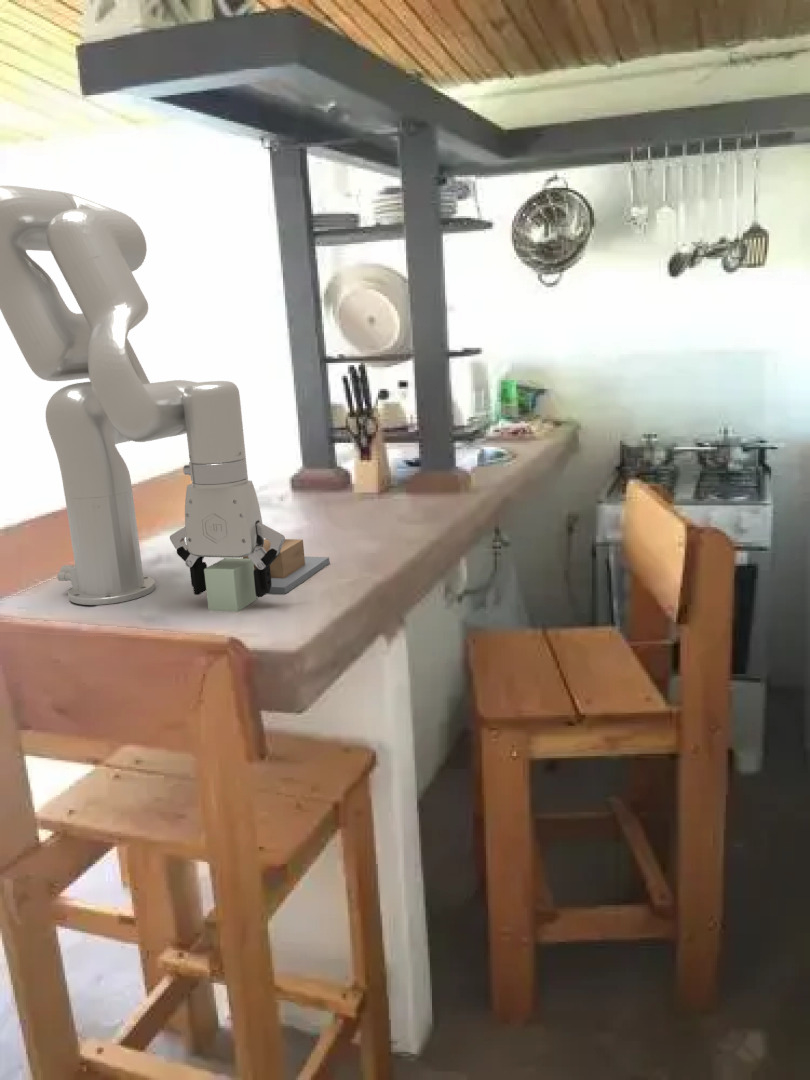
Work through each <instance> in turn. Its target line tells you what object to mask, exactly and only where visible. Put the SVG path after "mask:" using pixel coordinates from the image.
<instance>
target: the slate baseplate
mask: <svg viewBox="0 0 810 1080" xmlns="http://www.w3.org/2000/svg"><path fill="white" fill-rule="evenodd" d="M304 557H305V565H303V566H302V567H300V568H299V569H297V570H296V571H294V572H293V573H291V574H290V575H288V576H286V577H285V578H271V584H272V585H271V588H270V592H269V593H268V594H271V595H275V594H276V595H286V594H288V593H289V592H291V591H292V590H293V589H295V588H296V587H298V586H299V585H301V584H302V583H303V582H305V581H306V580H308V579H309V578H310V577H312V576H313V575H315V574H316V573H318V572H319V571H321V570H322V569H323V568H325V567H327V566H328V565H329V564H330V557H329V556H304Z"/></svg>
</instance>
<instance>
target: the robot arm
mask: <svg viewBox="0 0 810 1080" xmlns="http://www.w3.org/2000/svg"><path fill="white" fill-rule="evenodd" d="M146 241H147V240H146V237H145V234H144V232H143V230H142V229H141V227H140V226H139V224H138V223H137V222H136V221H135V220H134V219H133V218H132V217H131V216H129V215H128V214H127V213H125V212H124V213H123V212H122V211H119V210H116V209H112V208H111V207H107V206H105V205H102V204H100V203H97V202H94V201H92V200H90V199H89V200H88V199H86V198H84V197H81V196H78V195H76V194H72V193H69V192H63V191H57V190H49V189H41V188H34V187H33V188H32V187H25V186H17V185H0V312H1V314H2V316H3V318H4V320H5V323H6V324H7V326H8V328H9V330H10V332H11V334H12V337H13V338H14V340H15V342H16V344H17V345H18V349H19V350H20V352H21V354H22V356H23V358H24V359H25V361H26V363H27V364H28V367H29V368H30V370H31V371H32V373H34V375H36V376H37V377H38V378H39V379H41V380H44V381H48V382H64V381H65V382H67V381H73V380H74V381H75V380H82V379H83V380H84V379H89V381H86V382H76V383H72V384H68V385H66V386H63V387H62V388H60V389H58V390H57V391H55V392H54V393H53V394H52V395H51V397H50V398H49V399H48V402H47V404H46V407H45V422H46V427H47V430H48V433H49V437H50V439H51V442H52V445H53V448H54V450H55V451H54V452H55V453H56V457H57V461H58V464H59V469H60V474H61V475H60V476H61V481H62V487H63V493H64V494H63V495H64V499H65V504H66V513H67V518H68V526H69V533H70V539H71V548H72V554H73V560H74V564H73V565H70V564H69V565H68V564H64V565H62V566H61V567H60V569H59V570H60V571H59V572H58V573H57V576H56V577H57V580H58V581H61V582H62V581H63V582H64V581H67V582H68V581H70V583H71V588H70V589H69V590H68V592H67V595H68V600H69V601H70V602H72V603H74V604H76V605H77V604H78V605H83V606H105V605H112V604H118V603H124V602H130V601H132V600H136V599H139V598H142V597H145V596H147V595H149V594H151V593H152V592H153V591H154V590H155V588H156V583H155V582H156V581H155V580H154V579H153V578H152V577H150V576H148V575H144V572H143V563H142V556H141V548H140V541H139V540H140V539H139V532H138V525H137V516H136V509H135V502H134V501H135V500H134V494H133V493H134V492H133V487H132V486H133V485H132V479H131V475H130V471H129V468H128V465H127V463H126V462H125V460H124V458H123V457H122V455H121V453H120V452H119V450H118V448H117V446H116V445H117V444H122V443H127V442H128V443H129V442H136V443H145V442H151V441H156V440H160V439H164V438H172V437H176V436H180V435H185V434H186V438H187V439H186V440H187V449H188V456H189V457H188V458H189V462H188V463H189V464H184V465H183V468H182V469H183V471H182V472H183V474H184V475H185V476H186V475H187V476H188V475H189V476H190V481H191V483H190V484H188V485H187V484H186V491H185V500H184V501H185V504H184V526H183V527H182V528H180V529H179V530H177V531H175V532H174V533H172V534H171V535H169V541H170V542H171V544H172V545H173V547H174V549H176V554H177V555H178V556H179V557H180V558H181V559H182V560H183V561H184V564H185V566H186V567H187V568H189V573H190V574H189V575H190V582H191V587H193V594H194V595H195V596H197V595H198V596H199V595H201V594H202V593H205V592H207V591H206V582H205V574H204V569H206V568H207V567H208V565H207V562H206V561H203V560H204V559H205V558H243V557H246V556H248V557H249V559H250V560H251V561H252V562H253V563H254V564H255V565H256V567H257V569H255V570H254V582H255V592H256V596H257V598H262V597H264V596H265V595H267V594H269V592H270V588H271V585H272V584H271V573H270V564H272V563H273V561H274V560H275V559H276V557H277V556H278V555H279V554H280V550H281V548H282V545H283V543H284V540H285V539H286V537H285V535H283V534H282V533H280V532H278V531H276V530H275V529H273V528H271V527H269V526H267V525H265V524H263V518H262V512H261V507H260V504H259V499H258V495H257V492H256V489H255V487H254V484H253V481H252V480H249V477H248V475H249V474H248V466H247V458H246V447H245V446H246V445H245V435H244V424H243V415H242V404H241V396H240V390H239V387H238V386H237V385H236V384H235V383H234V382H231V381H229V380H212V381H201V382H197V381H191V380H185V379H183V380H182V379H179V380H176V379H175V380H167V381H157V382H150V380H149V379H148V377H147V374H146V373H145V372H146V371H144V368H143V366H142V364H141V362H140V360H139V359H138V356H137V354H136V352H135V349H134V348H133V346H132V344H131V343H130V341H129V339H128V335H129V332H130V331H131V330H132V329H133V328H135V327H136V326H138V325H139V324H140V323H141V322H143V320H144V319H145V317H146V316H147V315H148V311H149V303H148V300H147V299H146V296H145V295H144V293H143V291H142V289H141V287H140V285H139V283H138V282H137V279H136V278H135V275H134V274H133V272H135V271H137V270H138V269H139V268H140V267H141V266H142V265H143V263H144V262H145V259H146V256H147V250H148V249H147V242H146ZM27 251H44V252H45V251H46V252H50V253H51V254H52V256H53V258H54V261H55V262H56V265H57V266H58V268H59V271H60V272H61V274H62V276H63V278H64V279H65V282H66V283H67V286H68V287H69V289H70V291H71V293H72V295H73V296H74V299H75V300H76V303H77V305H78V307H79V308H80V310H81V312H82V313H76V312H73V311H72V310H71V309H69V307H68V305H67V304H66V302H65V301H64V299H63V297H62V295H61V293H60V292H59V289H58V287H57V285H56V283H55V282H54V280H53V279H52V278H51V276H50V275H49V274H48V273H47V272H46V270H44V269H43V268H42V267H41V265H40V264H38V263H37V262H36V261H35V260H34V259H32V258H31V257H30V255H28V253H27ZM264 539H267V540H269V541H270V542H271V546H270V549H269V551H268V552H267V551H266V550H265V549H264V548H263V546H264Z"/></svg>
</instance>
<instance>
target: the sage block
mask: <svg viewBox="0 0 810 1080" xmlns="http://www.w3.org/2000/svg"><path fill="white" fill-rule="evenodd" d="M204 574H205V582H206V591H205V592H206V601H207V607H208V608H207V609H208V611H213V612H232V613H233V612H234V613H235V612H236V613H238V612H239V611H241V610H242V609H244V608H246V607H247V606H249V605H250V604H252V603H253V602H255V601H256V600H258V597H257V596H256V592H255V582H254V563H253V562H252V561H251V560H250V559H243V557H242V558H227V557H223V558H222V559H221V560H218V561H217V562H214V563H213V564H212V565H210V566H207V568H206V569H204Z"/></svg>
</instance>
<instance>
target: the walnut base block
mask: <svg viewBox="0 0 810 1080" xmlns="http://www.w3.org/2000/svg"><path fill="white" fill-rule="evenodd" d="M270 546H271V542H270V541H269V540H267V539H265V538H264V546H263V548H264V549H265V550H266V551H267V552H268V551H269V549H270ZM305 557H306V556H305V548H304V539H298V538H297V539H293V538H292V539H290V538H287V539H286V538H285V540H284V543H283V545H282V548H281V550H280V554H279V555H278V556H277V557H276V559H275V560H274V561H273V563H272V564H270V573H271V578H285V577H286V576H288V575H290V574H291V573H293V572H294V571H296V570H297V569H299V568H300V567H302V566H303V565H305ZM242 558H243V559H249V557H248V556H246V557H242ZM255 569H257V567H256V565H255V564H254V570H255Z"/></svg>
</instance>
